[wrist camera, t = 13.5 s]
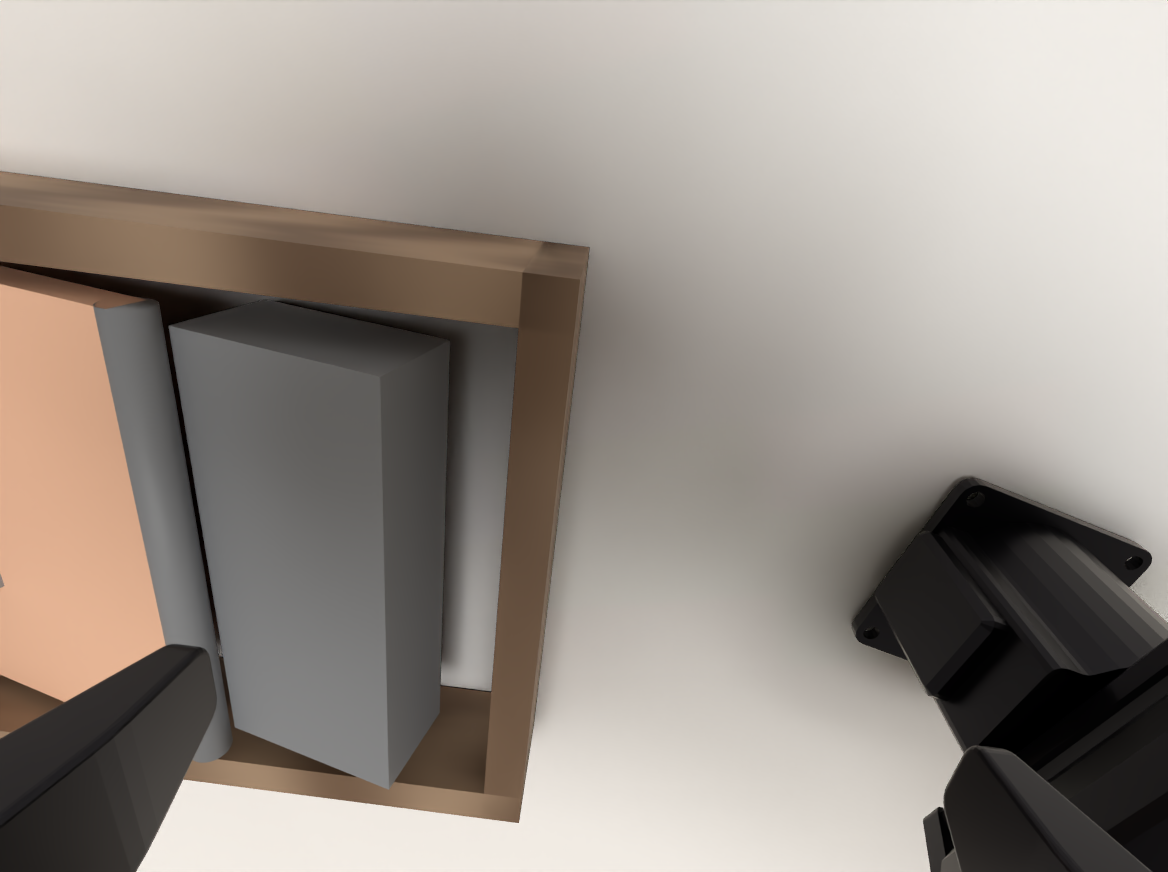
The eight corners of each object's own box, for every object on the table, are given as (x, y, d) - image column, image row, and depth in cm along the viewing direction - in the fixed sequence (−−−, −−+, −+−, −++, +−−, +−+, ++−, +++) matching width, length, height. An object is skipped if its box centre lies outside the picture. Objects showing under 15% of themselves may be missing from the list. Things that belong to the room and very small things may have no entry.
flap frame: (589, 247, 17) (580, 279, 13) (534, 721, 25) (519, 823, 21) (-348, 126, 17) (-608, 125, 13) (-115, 636, 25) (-241, 724, 21)
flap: (450, 320, 16) (346, 369, 12) (439, 723, 22) (367, 834, 18) (-121, 198, 20) (-319, 209, 17) (-1, 560, 27) (-127, 624, 23)
